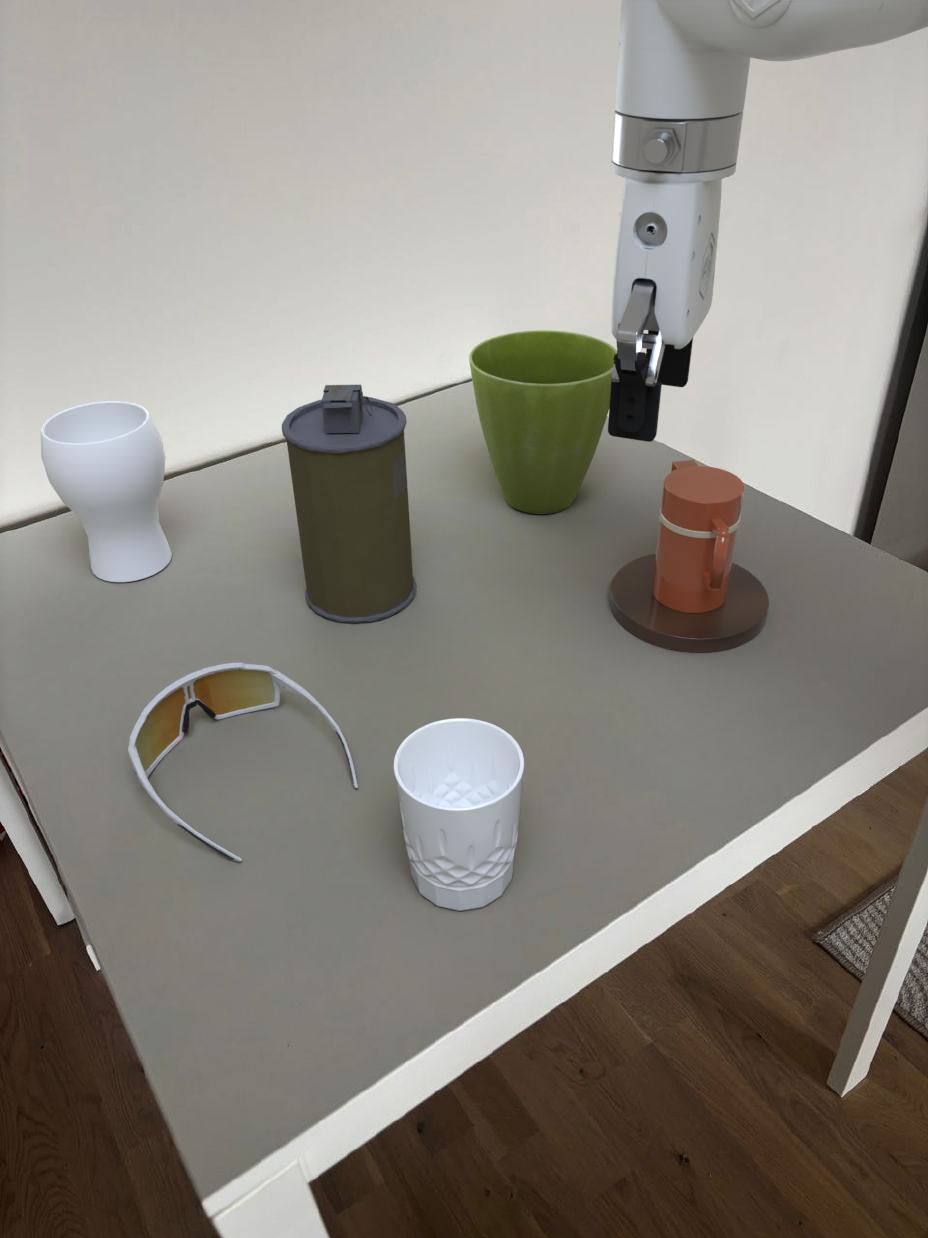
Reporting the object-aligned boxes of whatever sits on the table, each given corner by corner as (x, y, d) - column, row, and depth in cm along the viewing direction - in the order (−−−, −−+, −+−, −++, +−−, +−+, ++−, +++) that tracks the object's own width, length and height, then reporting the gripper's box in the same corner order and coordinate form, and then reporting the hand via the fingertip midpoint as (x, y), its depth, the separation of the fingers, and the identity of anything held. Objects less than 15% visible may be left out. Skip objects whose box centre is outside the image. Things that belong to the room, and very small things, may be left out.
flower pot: (533, 454, 114) (536, 319, 105) (637, 495, 105) (650, 352, 96) (443, 500, 105) (438, 357, 96) (548, 548, 97) (553, 397, 87)
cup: (193, 578, 94) (161, 435, 85) (78, 601, 91) (33, 455, 82) (180, 526, 102) (150, 391, 93) (74, 546, 99) (33, 408, 90)
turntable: (800, 623, 86) (803, 609, 85) (672, 671, 81) (674, 657, 80) (699, 550, 96) (700, 537, 95) (580, 589, 91) (580, 576, 90)
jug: (748, 623, 84) (769, 511, 77) (673, 632, 83) (687, 520, 76) (705, 559, 92) (720, 453, 85) (635, 566, 91) (646, 460, 85)
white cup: (386, 847, 66) (375, 739, 60) (491, 811, 69) (491, 704, 63) (429, 937, 60) (421, 826, 54) (542, 894, 63) (547, 784, 57)
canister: (413, 623, 87) (400, 415, 75) (297, 624, 87) (266, 417, 76) (419, 558, 96) (408, 363, 84) (314, 560, 96) (288, 365, 84)
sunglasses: (266, 679, 81) (262, 636, 77) (380, 792, 73) (381, 749, 70) (107, 763, 73) (96, 718, 70) (215, 899, 65) (208, 856, 62)
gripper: (709, 178, 51) (674, 470, 61) (761, 122, 64) (725, 372, 74) (572, 169, 53) (560, 452, 63) (648, 117, 66) (629, 359, 76)
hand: (649, 408), depth 69 cm, fingers open, 9 cm apart
